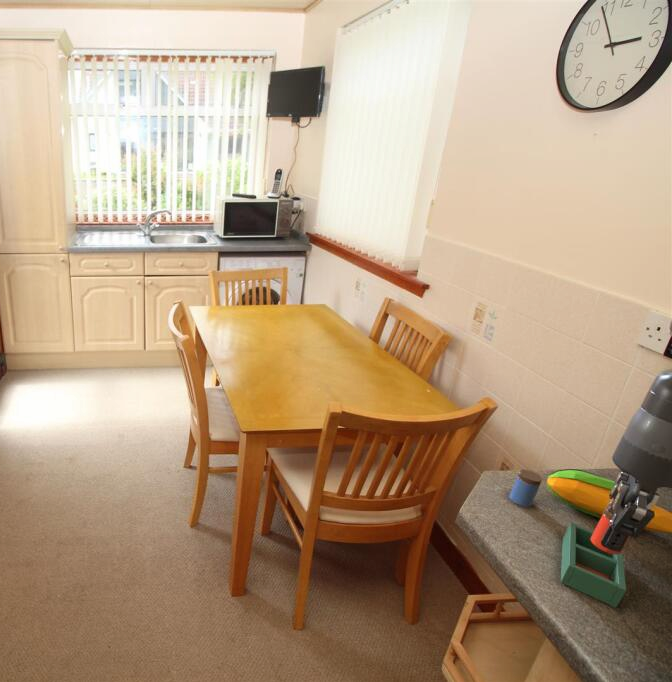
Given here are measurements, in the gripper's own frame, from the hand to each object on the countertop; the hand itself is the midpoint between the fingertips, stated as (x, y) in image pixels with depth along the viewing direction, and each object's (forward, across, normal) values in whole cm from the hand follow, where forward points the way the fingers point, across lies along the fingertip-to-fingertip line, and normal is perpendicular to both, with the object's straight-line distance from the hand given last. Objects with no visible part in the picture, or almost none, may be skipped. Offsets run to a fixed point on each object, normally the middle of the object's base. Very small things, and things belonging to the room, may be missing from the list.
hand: (609, 539), depth 71 cm
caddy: (+9, +3, 0) cm, 9 cm away
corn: (+9, +22, -3) cm, 24 cm away
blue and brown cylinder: (+9, +16, +10) cm, 21 cm away
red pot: (+1, 0, 0) cm, 1 cm away
